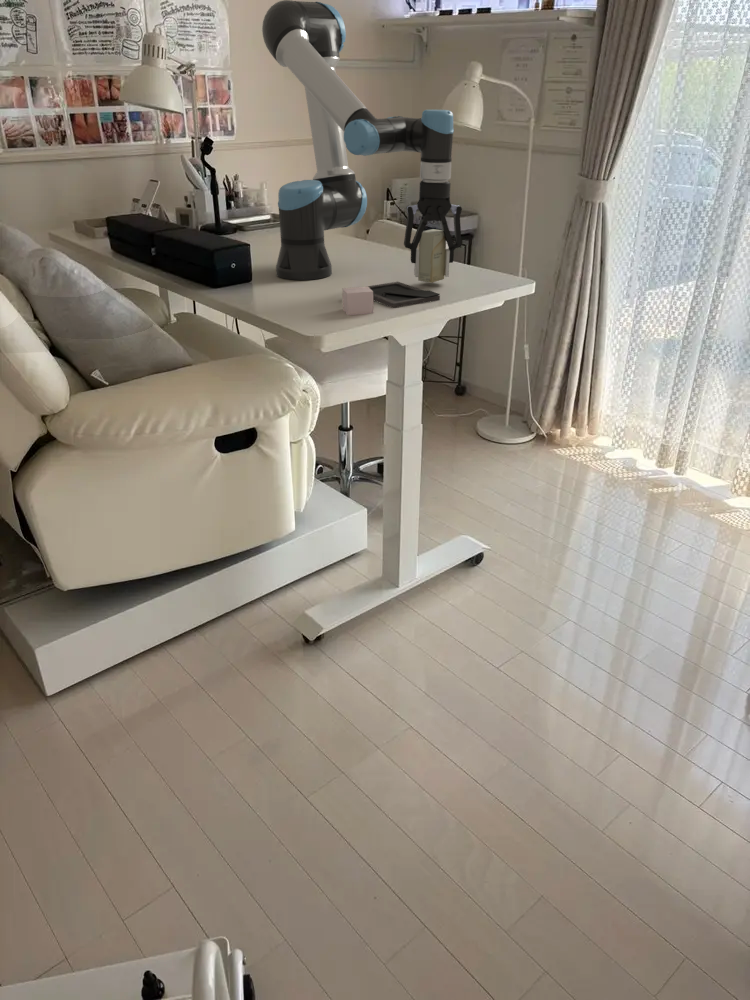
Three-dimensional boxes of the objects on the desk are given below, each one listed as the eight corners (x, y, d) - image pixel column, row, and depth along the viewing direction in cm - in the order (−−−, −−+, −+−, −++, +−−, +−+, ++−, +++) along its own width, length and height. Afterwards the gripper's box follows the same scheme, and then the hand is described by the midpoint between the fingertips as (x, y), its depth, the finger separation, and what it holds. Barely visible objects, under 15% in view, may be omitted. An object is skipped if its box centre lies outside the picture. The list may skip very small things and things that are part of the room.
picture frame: (439, 302, 190) (397, 287, 204) (439, 293, 189) (397, 279, 203) (393, 310, 184) (353, 294, 197) (393, 301, 183) (353, 286, 196)
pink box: (347, 315, 179) (347, 293, 176) (342, 309, 183) (342, 288, 180) (373, 313, 180) (373, 291, 178) (367, 308, 184) (367, 286, 182)
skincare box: (431, 283, 200) (433, 233, 194) (417, 280, 203) (418, 231, 197) (444, 279, 205) (447, 230, 199) (430, 276, 207) (432, 228, 201)
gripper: (396, 182, 188) (394, 279, 199) (478, 182, 190) (472, 278, 201) (392, 178, 195) (391, 272, 206) (472, 178, 196) (466, 271, 207)
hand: (431, 275), depth 203 cm, fingers closed on skincare box, 7 cm apart
